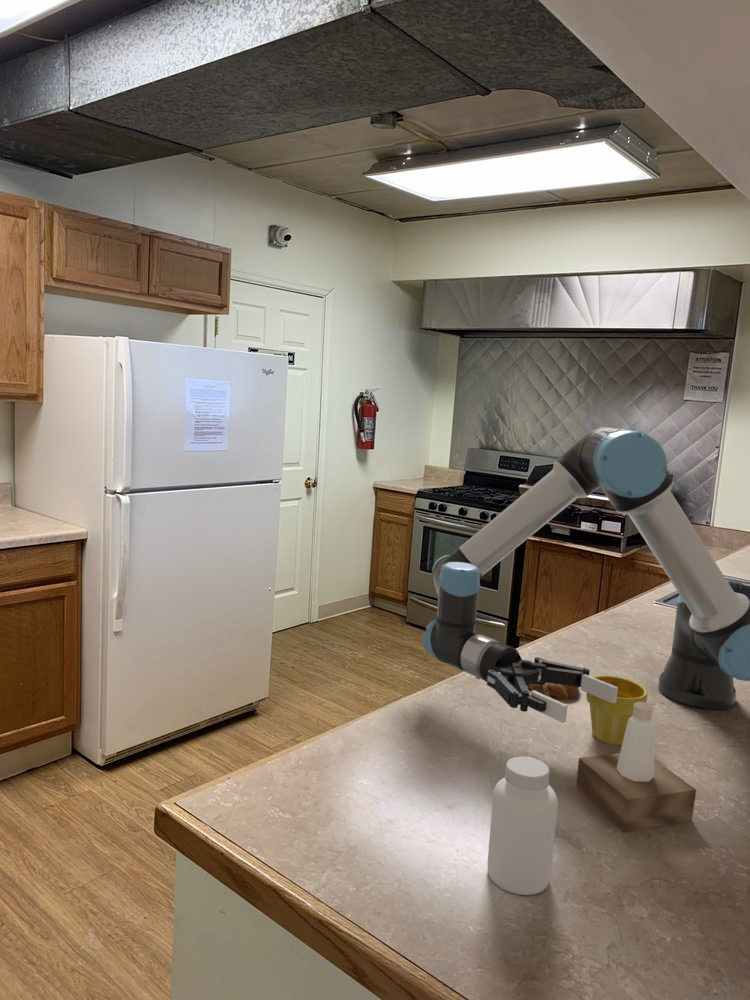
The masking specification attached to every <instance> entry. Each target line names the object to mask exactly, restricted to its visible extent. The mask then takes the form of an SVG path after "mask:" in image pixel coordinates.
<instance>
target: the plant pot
mask: <svg viewBox="0 0 750 1000" xmlns="http://www.w3.org/2000/svg"><path fill="white" fill-rule="evenodd" d="M592 677H593V678H596V679H599V680H601V681H604V682H606V683H609V684H611V685H614V686H616V687H618V691H617V699H616V703H614V704H613V703H611V702H608V701H606V700H604V699H601V698H599V697H596V696H594V695H592V694H589V693H587V692H586V696H585V697H586V701H587V703H589V710H590V711H589V712H590V721H591V722H590V723H591V733H592V735H593V736H594V737H595V738H596V739H597V740H598V741H601V742H603V743H606V744H609V745H614V746H615V745H616V746H619V745H620V746H622V743H623V739H624V735H625V731H626V727H627V723H628V719H629V718H630V717H632V716H633V709H634V706H633V704H634V703H635V702H645V703H647V702H648V701H647V700H648V699H647V698H648V691H647V689H646V687H644V685H642V684H640V683H638V682H636V681H634V680H631V679H628V678H625V677H621V676H616V675H605V674H604V675H597V676H596V675H595V676H592Z"/></svg>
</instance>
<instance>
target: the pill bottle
mask: <svg viewBox="0 0 750 1000" xmlns="http://www.w3.org/2000/svg"><path fill="white" fill-rule="evenodd" d="M504 774H505V777H503V778H501V779H500V780H499V781H498V782H497V783H496V784H495V787H494V789H493V793H492V805H491V815H490V817H491V818H490V826H489V827H490V829H489V841H488V852H487V853H488V854H487V872H488V876H489V878H490V879H491V881H492V882H493V883H494V884H495V885H496V886H497V887H499V888H500V889H502V890H504V891H506V892H509V893H511V894H514V895H520V896H532V895H537V894H540V893H542V892H543V891H544V890H546V888H547V887H548V886H549V884H550V881H551V876H552V866H553V864H552V863H553V857H554V844H555V834H556V825H557V815H558V814H557V813H558V805H559V803H558V798H557V795H556V792H555V791H554V788H552V786H551V785H550V784H549V780H550V768H549V767H548V766H547V764H546V763H545V762H543V761H542V760H539V759H538V758H534V757H530V756H529V757H528V756H514V757H512V758H510V759H508V760H507V761H506V764H505V773H504Z"/></svg>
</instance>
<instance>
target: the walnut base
mask: <svg viewBox="0 0 750 1000" xmlns="http://www.w3.org/2000/svg"><path fill="white" fill-rule="evenodd" d="M619 756H620V752H619V753H618V752H617V753H611V754H600V755H593V756H591V755H590V756H583V757H579V758H578V764H577V773H576V782H575V788H576V789H577V790H578V791H579V792H580V793H581V794H582V795H583V796H584V797H586V799H587V800H589V801H590V803H592V804H593V805H594V806H595V807H596V808H597V809H598V810H600V811H601V813H603V814H604V815H605V816H606V817H607V818H609V820H610V821H612V822H613V823H614V824H615V825H616V826H617V827H618V828H619V829H620V830H621V831H623V832H624V833H625V832H626V833H627V832H632V831H638V830H646V829H651V828H657V827H662V826H671V825H674V824H675V825H676V824H680V823H681V824H682V823H683V824H684V823H688V822H693V815H694V809H695V808H694V807H695V800H696V795H697V789H696V788H695V787H694V786H693V785H690V784H689V783H688V782H686V781H685V780H684V779H682V778H681V777H679V775H677V774H676V773H674V772H672V771H671V770H670V769H669V768H667V767H666V766H664V765H663V764H662V763H661V762H659V761H658V760H656V759H655V758H654V777H653V778H652V779H651V780H650V781H649V782H635V781H632V780H630V779H627V778H625V777H623V776H621V774H620V773H619V771H618V770H617V764H618V760H619Z"/></svg>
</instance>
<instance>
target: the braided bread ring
mask: <svg viewBox="0 0 750 1000" xmlns="http://www.w3.org/2000/svg"><path fill="white" fill-rule="evenodd" d="M538 679H541V674H539V678H538ZM527 688H528V690H529V691H537V692H539V693H541V694H543V695H546V696H548V697H550V698H552V699H555V700H567V699H568V700H570V699H573V698H576V697H577V696H579V693H580V689H579V688H580V687H575V686H568V685H560V684H553V683H545V684H544V685H539V684H530V685H528V686H527Z"/></svg>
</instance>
